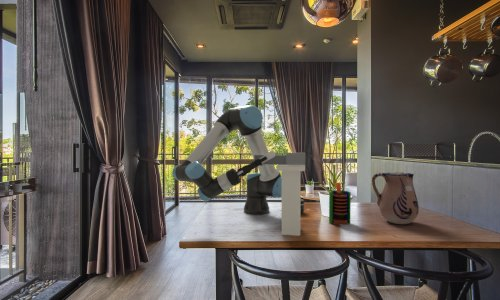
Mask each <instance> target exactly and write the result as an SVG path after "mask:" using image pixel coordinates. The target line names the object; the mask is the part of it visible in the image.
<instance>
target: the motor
mask: <svg viewBox="0 0 500 300" xmlns="http://www.w3.org/2000/svg"><path fill="white" fill-rule="evenodd" d="M341 186H342V185H341V183H340V182H334V187H335V188H336V190H329V192H328V193H329V196H328V197H329V198H328V201H329V203H328V204H329V205H328V207H329V209H328V210H329V211H328V215H329V216H328V219H329V220H328V223H329V224H331V225H337V226H347V225H348V224H349V225H350V224H351V200H352V199H351V192H350V191H347V190H342V187H341Z"/></svg>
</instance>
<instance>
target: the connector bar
mask: <svg viewBox="0 0 500 300" xmlns="http://www.w3.org/2000/svg"><path fill="white" fill-rule="evenodd" d="M262 156H264V155H254V157H253V162H254V161H255V160H257V159H259V158H261V157H262ZM259 160H260V159H259ZM263 164H274V165H305V166H306V152H286V153H285V154H275V157H273V158H272V159H270V160H268V161H266V162H265V163H263Z"/></svg>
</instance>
